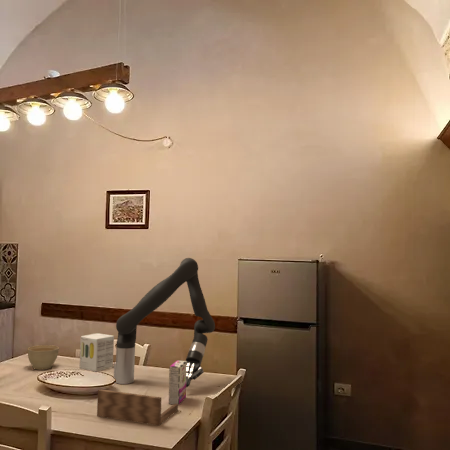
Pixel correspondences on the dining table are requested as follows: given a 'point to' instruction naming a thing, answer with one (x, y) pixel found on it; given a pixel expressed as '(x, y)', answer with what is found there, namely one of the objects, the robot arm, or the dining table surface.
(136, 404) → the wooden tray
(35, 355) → the planter bowl
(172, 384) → the candy bar box
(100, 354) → the supplement box
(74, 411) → the dining table surface
